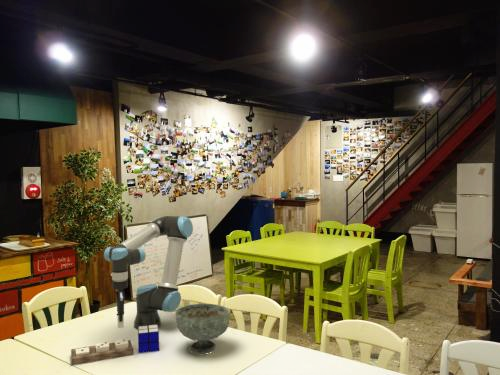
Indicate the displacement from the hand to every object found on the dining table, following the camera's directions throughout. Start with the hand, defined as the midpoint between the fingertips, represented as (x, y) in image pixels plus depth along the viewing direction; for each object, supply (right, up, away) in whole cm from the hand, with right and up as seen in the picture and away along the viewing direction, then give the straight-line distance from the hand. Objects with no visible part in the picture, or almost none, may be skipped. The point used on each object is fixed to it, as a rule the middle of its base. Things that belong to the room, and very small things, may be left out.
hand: (120, 327), depth 211 cm
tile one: (-16, -12, -6) cm, 21 cm away
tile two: (0, -10, +1) cm, 10 cm away
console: (-8, -13, -3) cm, 15 cm away
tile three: (-8, -10, -3) cm, 14 cm away
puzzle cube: (+13, -12, +5) cm, 18 cm away
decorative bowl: (+40, -12, +4) cm, 42 cm away
